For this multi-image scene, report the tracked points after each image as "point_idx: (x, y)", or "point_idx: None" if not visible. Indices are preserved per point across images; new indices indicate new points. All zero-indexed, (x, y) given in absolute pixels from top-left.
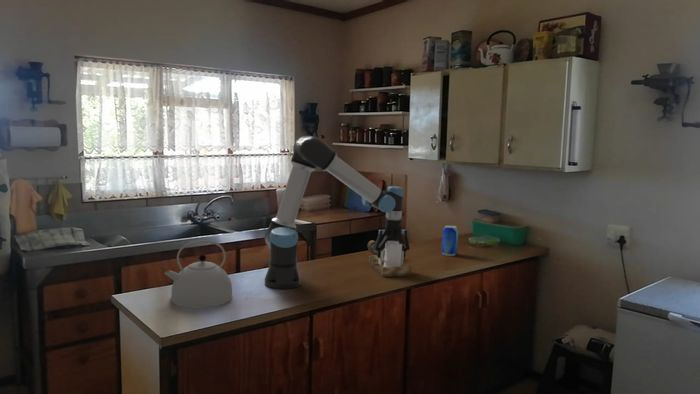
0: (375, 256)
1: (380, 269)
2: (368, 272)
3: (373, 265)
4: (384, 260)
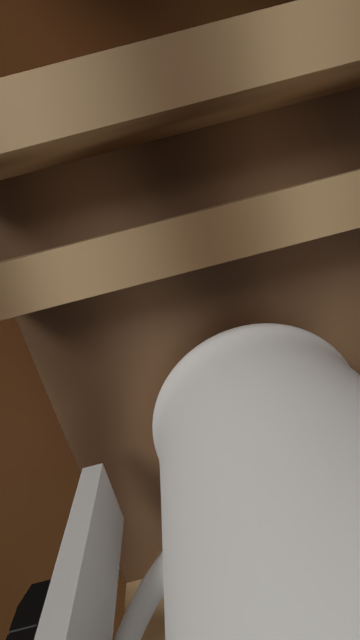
0: (3, 153)
1: (117, 483)
2: (2, 498)
3: (29, 350)
4: (152, 610)
